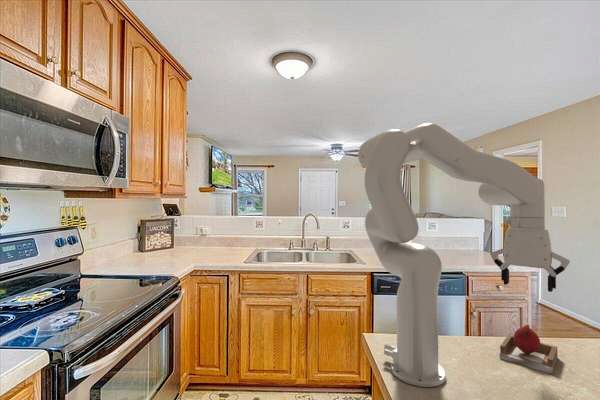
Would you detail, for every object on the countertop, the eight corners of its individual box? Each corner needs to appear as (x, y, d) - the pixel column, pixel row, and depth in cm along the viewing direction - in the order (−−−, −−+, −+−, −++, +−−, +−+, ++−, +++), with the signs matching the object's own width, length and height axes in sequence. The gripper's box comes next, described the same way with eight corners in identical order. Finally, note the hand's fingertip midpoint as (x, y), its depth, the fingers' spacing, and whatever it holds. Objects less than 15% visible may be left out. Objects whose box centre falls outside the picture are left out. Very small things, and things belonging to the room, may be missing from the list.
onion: (538, 362, 78) (538, 330, 78) (511, 354, 82) (511, 324, 82) (541, 354, 82) (541, 324, 82) (515, 347, 86) (515, 318, 86)
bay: (499, 358, 82) (499, 346, 82) (508, 344, 89) (508, 334, 89) (552, 374, 74) (552, 361, 74) (557, 357, 82) (557, 346, 82)
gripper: (486, 223, 86) (487, 283, 86) (568, 226, 74) (568, 297, 73) (493, 222, 91) (494, 279, 91) (570, 224, 79) (571, 291, 79)
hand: (527, 287), depth 82 cm, fingers open, 9 cm apart
